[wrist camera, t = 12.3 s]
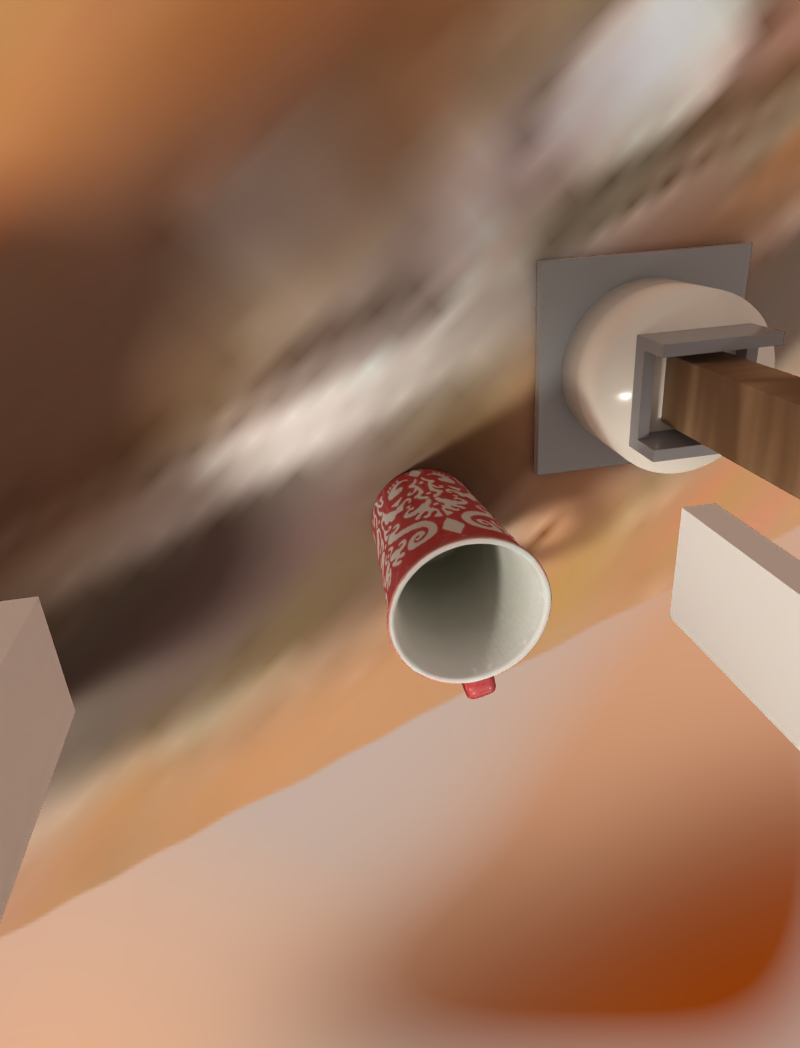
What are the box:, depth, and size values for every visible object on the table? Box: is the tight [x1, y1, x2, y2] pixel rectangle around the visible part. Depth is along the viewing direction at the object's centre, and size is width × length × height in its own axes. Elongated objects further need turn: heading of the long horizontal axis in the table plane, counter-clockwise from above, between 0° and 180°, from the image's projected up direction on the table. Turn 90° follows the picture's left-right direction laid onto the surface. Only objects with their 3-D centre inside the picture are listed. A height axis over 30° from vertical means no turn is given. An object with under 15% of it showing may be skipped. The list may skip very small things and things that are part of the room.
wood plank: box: [661, 351, 800, 499], centre depth 36 cm, size 3×4×15 cm
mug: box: [372, 469, 552, 699], centre depth 46 cm, size 13×9×14 cm
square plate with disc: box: [534, 243, 785, 475], centre depth 44 cm, size 14×14×10 cm
